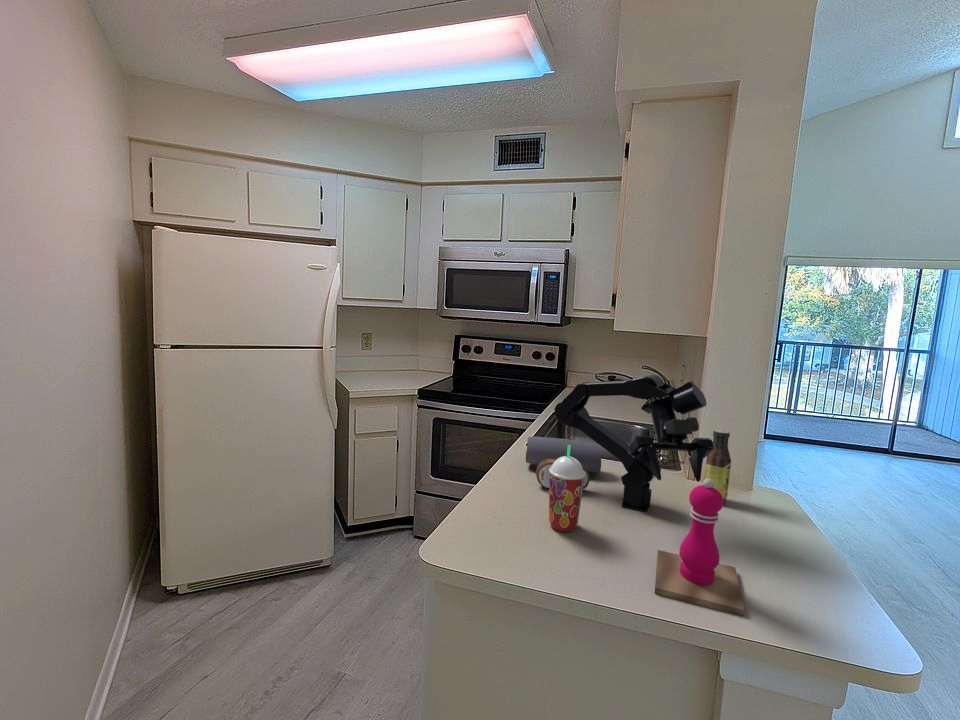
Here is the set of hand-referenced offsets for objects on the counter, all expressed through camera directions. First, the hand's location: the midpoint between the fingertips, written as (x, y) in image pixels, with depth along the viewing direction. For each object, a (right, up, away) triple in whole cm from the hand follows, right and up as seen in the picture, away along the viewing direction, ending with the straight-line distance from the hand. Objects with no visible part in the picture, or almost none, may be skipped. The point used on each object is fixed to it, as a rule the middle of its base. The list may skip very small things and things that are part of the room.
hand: (679, 480), depth 115 cm
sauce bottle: (+19, -11, +23) cm, 32 cm away
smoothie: (-26, -12, +4) cm, 29 cm away
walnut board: (-3, -16, -17) cm, 23 cm away
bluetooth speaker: (-20, -7, +41) cm, 46 cm away
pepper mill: (-3, -15, -17) cm, 23 cm away
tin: (-23, -9, +26) cm, 36 cm away
